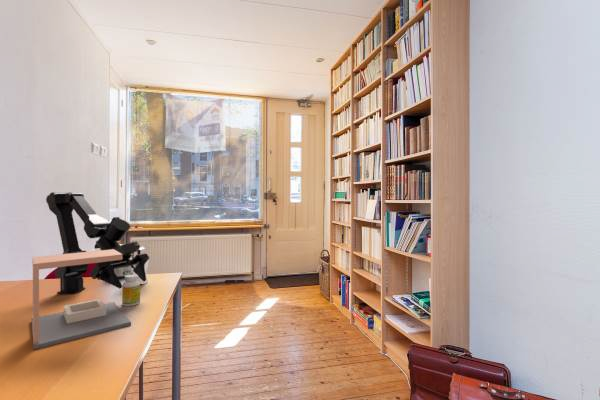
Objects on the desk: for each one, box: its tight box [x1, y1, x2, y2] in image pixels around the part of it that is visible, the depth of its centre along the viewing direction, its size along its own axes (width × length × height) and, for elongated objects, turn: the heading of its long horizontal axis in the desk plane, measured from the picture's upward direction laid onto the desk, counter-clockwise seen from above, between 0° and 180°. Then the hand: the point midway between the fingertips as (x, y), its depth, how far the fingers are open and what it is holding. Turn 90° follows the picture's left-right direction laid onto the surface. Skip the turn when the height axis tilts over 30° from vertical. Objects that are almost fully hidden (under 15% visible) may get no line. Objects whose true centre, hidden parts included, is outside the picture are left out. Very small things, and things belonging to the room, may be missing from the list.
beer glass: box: [129, 246, 150, 285], centre depth 129 cm, size 7×7×15 cm
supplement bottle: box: [121, 274, 141, 307], centre depth 104 cm, size 5×5×10 cm
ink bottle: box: [114, 258, 132, 280], centre depth 139 cm, size 10×9×12 cm
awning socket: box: [31, 249, 132, 350], centre depth 88 cm, size 22×21×20 cm
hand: (133, 283), depth 104 cm, fingers open, 9 cm apart
